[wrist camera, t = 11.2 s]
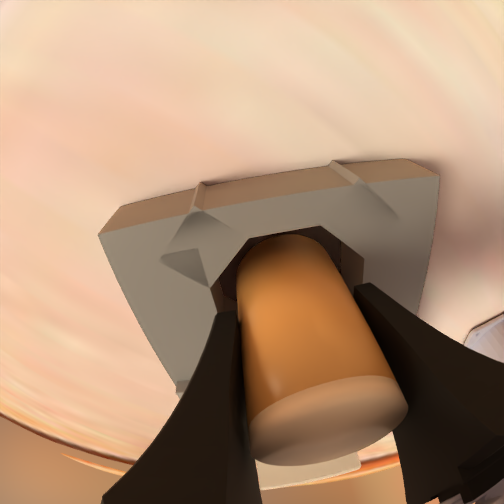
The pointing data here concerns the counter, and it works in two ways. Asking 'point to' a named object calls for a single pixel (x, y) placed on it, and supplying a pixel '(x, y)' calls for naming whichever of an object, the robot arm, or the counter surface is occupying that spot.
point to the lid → (304, 472)
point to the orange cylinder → (309, 358)
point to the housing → (259, 224)
